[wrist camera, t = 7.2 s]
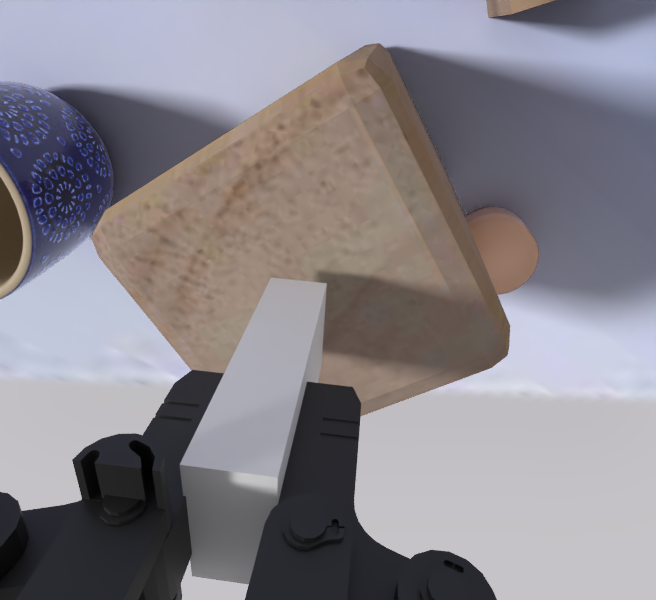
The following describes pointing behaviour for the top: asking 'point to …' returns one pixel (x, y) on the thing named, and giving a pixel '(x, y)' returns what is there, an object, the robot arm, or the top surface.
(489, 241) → the terracotta puck
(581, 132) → the top surface
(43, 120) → the planter
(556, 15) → the top surface
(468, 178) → the top surface
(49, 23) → the top surface
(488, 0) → the walnut cube
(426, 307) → the wooden block
